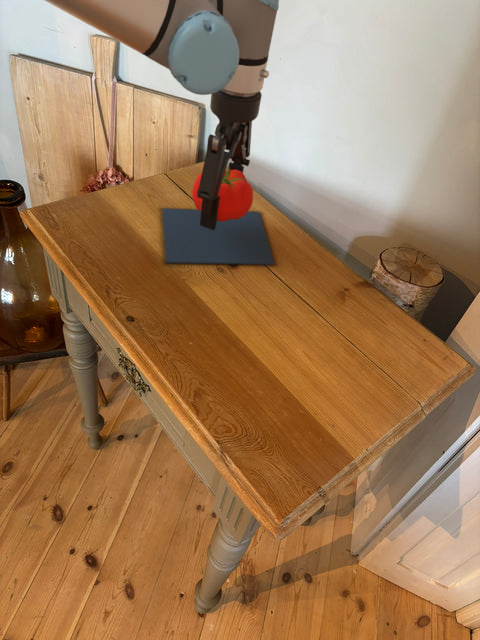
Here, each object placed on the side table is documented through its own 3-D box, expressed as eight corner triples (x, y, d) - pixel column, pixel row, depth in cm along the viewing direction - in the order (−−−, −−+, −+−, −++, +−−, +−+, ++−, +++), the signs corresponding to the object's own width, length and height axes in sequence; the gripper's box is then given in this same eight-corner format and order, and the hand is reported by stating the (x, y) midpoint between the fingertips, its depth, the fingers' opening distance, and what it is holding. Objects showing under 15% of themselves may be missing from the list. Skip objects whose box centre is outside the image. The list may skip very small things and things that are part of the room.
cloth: (165, 263, 82) (166, 261, 82) (162, 209, 92) (162, 208, 92) (274, 264, 86) (274, 263, 86) (258, 213, 97) (259, 211, 96)
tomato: (258, 224, 84) (266, 188, 79) (203, 233, 80) (207, 196, 75) (235, 191, 90) (241, 156, 85) (182, 198, 86) (184, 161, 81)
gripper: (231, 123, 60) (213, 252, 77) (284, 71, 76) (259, 187, 92) (180, 106, 61) (173, 237, 78) (242, 58, 77) (225, 175, 93)
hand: (220, 210), depth 85 cm, fingers closed on tomato, 11 cm apart
